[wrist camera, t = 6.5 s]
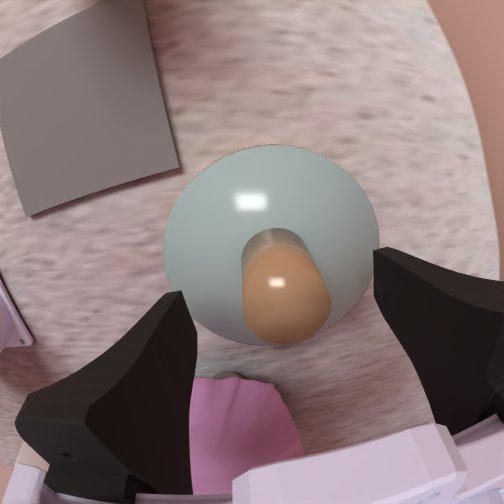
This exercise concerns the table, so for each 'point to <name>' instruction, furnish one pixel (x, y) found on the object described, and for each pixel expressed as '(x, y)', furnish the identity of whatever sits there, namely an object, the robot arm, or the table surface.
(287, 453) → the toy character
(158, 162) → the mat
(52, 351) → the table surface
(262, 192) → the lid
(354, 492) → the robot arm
